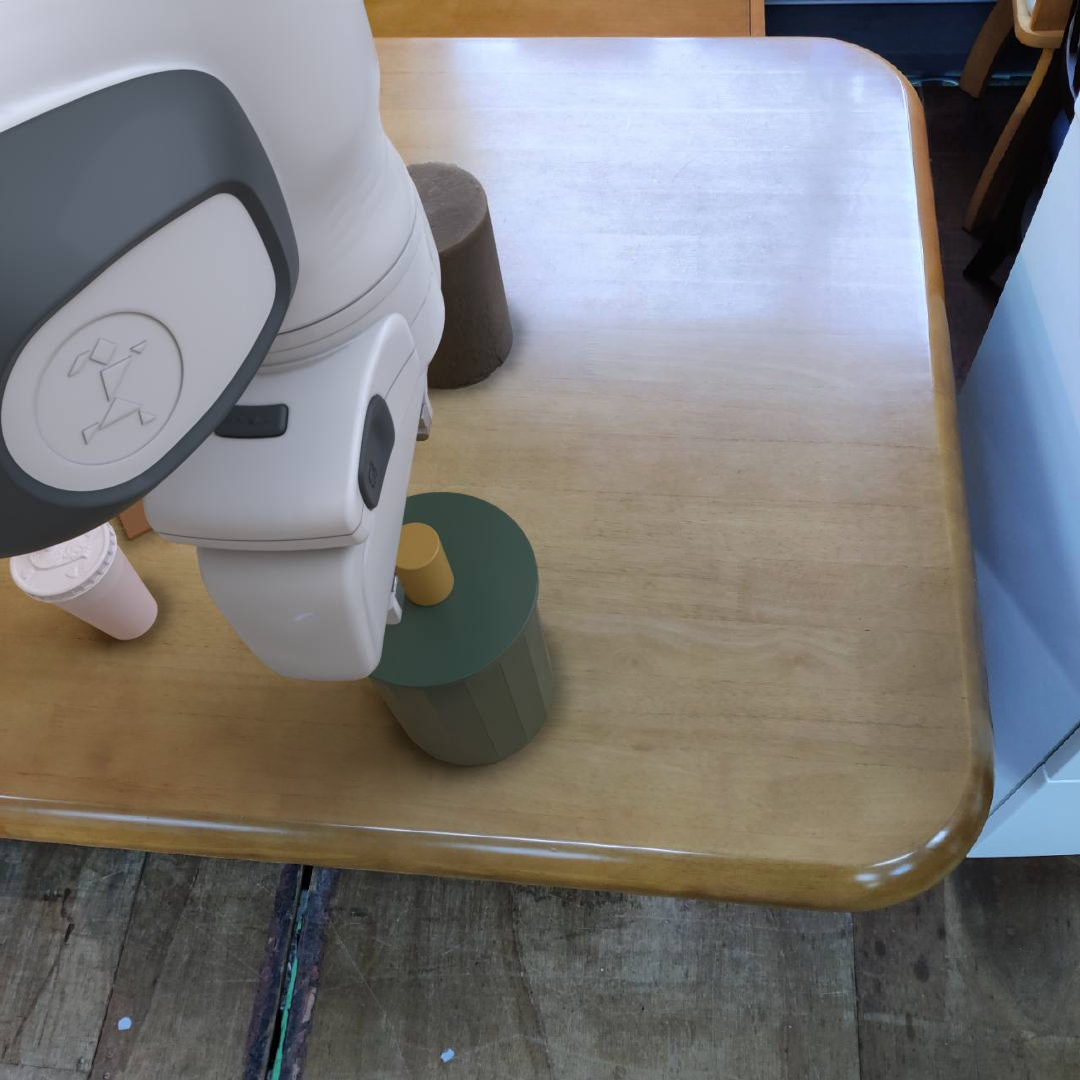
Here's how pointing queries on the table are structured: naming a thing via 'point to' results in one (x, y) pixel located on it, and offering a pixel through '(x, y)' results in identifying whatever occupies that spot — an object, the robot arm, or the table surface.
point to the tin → (481, 707)
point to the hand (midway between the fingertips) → (400, 514)
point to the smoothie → (89, 583)
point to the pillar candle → (464, 277)
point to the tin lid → (457, 592)
